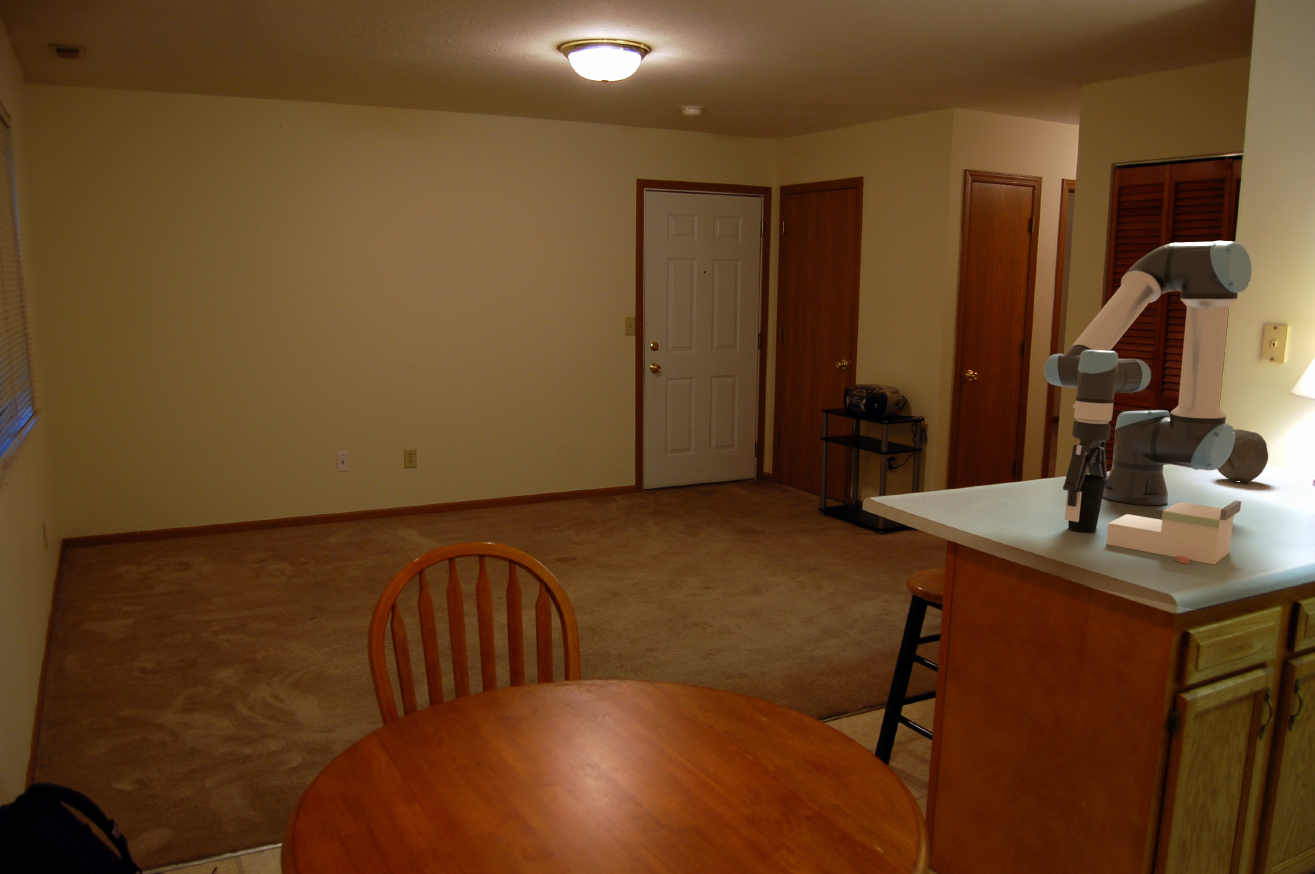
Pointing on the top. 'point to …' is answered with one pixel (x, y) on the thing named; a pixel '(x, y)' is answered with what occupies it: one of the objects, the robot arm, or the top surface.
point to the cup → (1089, 504)
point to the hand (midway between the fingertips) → (1082, 515)
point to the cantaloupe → (1245, 457)
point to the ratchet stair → (1179, 532)
